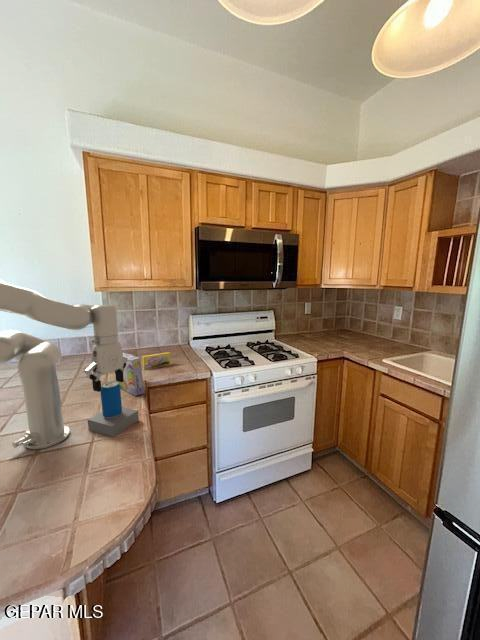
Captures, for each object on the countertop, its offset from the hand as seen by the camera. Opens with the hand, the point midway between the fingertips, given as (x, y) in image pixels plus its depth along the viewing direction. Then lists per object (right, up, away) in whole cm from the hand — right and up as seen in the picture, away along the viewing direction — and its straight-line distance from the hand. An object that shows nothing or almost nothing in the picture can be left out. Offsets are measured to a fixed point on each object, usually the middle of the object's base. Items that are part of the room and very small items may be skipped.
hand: (109, 386), depth 98 cm
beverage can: (+1, -11, +2) cm, 12 cm away
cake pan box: (-6, -11, +34) cm, 36 cm away
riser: (+1, -15, +3) cm, 15 cm away
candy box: (-3, -5, +68) cm, 68 cm away
